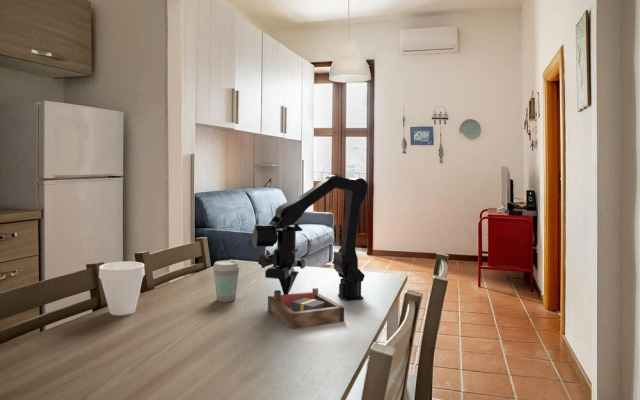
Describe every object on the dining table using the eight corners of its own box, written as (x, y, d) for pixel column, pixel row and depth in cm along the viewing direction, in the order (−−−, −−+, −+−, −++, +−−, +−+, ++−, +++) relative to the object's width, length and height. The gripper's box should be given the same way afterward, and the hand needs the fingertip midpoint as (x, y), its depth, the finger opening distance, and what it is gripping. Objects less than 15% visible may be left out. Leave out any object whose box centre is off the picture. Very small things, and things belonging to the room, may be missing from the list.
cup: (154, 309, 142) (153, 263, 141) (121, 321, 131) (120, 271, 130) (123, 303, 148) (123, 259, 147) (89, 314, 136) (88, 267, 136)
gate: (316, 303, 150) (316, 286, 150) (319, 305, 148) (319, 287, 148) (271, 308, 144) (271, 290, 143) (273, 310, 142) (274, 292, 142)
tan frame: (315, 304, 150) (316, 290, 150) (344, 321, 134) (344, 305, 134) (267, 310, 143) (267, 295, 143) (291, 329, 127) (291, 312, 127)
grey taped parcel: (304, 308, 146) (304, 297, 146) (325, 313, 141) (325, 301, 141) (291, 313, 141) (291, 301, 141) (312, 318, 136) (312, 306, 136)
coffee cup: (233, 304, 149) (234, 265, 148) (208, 302, 151) (208, 264, 150) (243, 296, 158) (243, 260, 157) (219, 295, 159) (219, 259, 158)
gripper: (274, 239, 160) (274, 285, 161) (249, 248, 142) (249, 300, 143) (305, 241, 157) (305, 288, 158) (284, 251, 139) (283, 304, 140)
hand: (285, 295), depth 150 cm, fingers closed
